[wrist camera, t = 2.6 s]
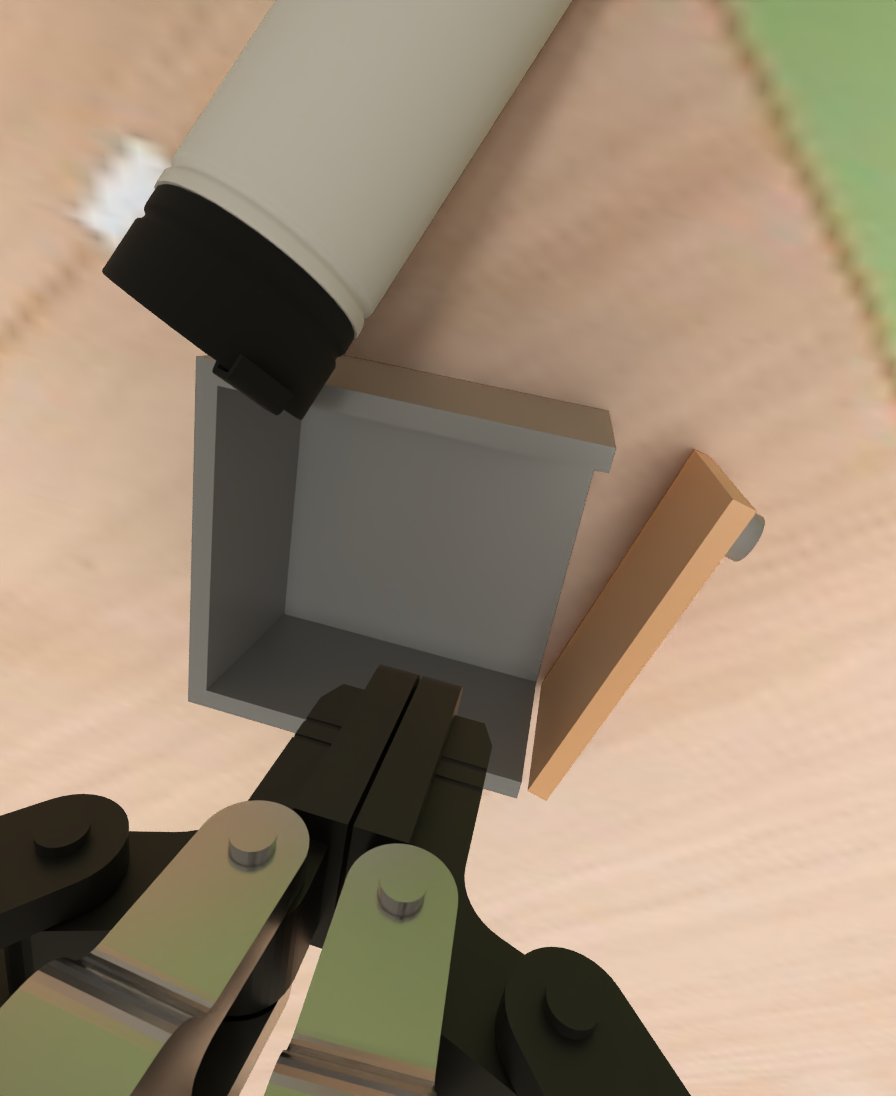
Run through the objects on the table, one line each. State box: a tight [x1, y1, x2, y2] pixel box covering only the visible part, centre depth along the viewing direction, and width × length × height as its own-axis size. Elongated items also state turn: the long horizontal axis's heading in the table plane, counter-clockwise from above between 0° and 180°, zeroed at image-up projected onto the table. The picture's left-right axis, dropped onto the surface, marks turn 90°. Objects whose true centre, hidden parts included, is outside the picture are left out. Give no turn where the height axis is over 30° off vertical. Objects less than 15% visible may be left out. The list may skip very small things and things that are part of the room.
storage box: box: [188, 355, 616, 798], centre depth 26 cm, size 14×14×8 cm
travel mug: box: [102, 0, 572, 420], centre depth 18 cm, size 6×7×20 cm
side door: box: [528, 450, 765, 800], centre depth 25 cm, size 2×13×8 cm, turn 155°
